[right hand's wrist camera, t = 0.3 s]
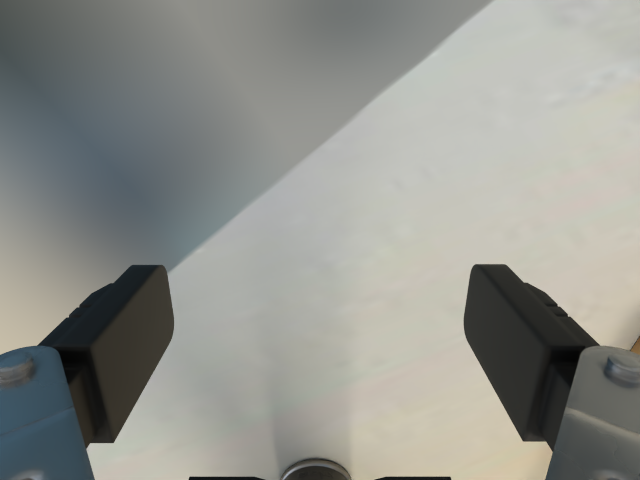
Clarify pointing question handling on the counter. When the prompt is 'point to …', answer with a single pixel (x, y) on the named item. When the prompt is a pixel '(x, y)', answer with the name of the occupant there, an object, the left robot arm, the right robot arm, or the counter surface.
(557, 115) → the counter surface
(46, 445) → the right robot arm
